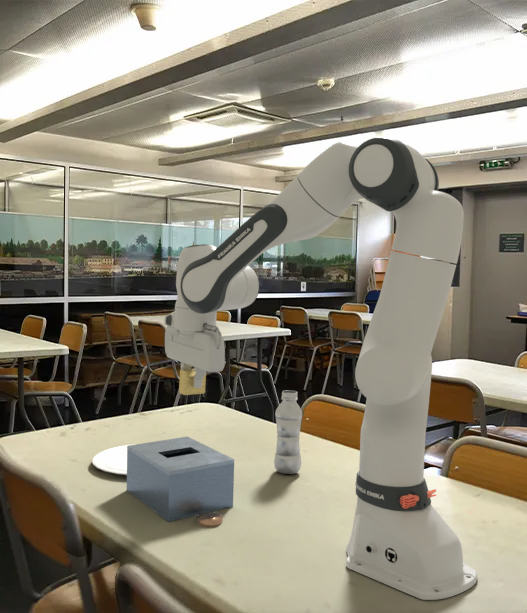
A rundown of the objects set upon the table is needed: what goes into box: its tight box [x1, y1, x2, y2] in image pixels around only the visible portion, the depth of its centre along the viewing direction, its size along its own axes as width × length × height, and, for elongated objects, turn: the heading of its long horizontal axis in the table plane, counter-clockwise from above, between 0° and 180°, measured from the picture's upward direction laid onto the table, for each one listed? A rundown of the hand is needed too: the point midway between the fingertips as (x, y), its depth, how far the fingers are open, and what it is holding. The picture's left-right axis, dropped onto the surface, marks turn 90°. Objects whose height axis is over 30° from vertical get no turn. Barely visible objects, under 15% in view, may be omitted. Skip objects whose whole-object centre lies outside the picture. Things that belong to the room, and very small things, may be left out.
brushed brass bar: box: [178, 368, 207, 396], centre depth 132 cm, size 2×5×5 cm, turn 125°
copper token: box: [196, 511, 224, 528], centre depth 122 cm, size 5×5×1 cm
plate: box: [91, 443, 137, 477], centre depth 155 cm, size 25×25×2 cm
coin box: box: [126, 436, 235, 523], centre depth 133 cm, size 20×15×10 cm
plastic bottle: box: [273, 390, 303, 475], centre depth 151 cm, size 6×7×20 cm
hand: (192, 385), depth 132 cm, fingers closed on brushed brass bar, 2 cm apart
